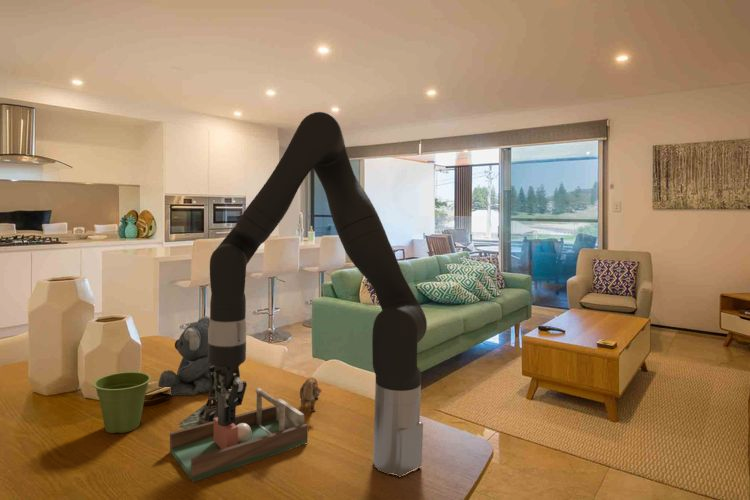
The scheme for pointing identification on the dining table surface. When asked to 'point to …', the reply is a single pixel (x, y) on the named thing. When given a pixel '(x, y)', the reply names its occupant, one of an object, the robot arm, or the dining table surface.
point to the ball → (244, 432)
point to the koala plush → (190, 361)
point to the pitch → (269, 437)
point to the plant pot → (122, 399)
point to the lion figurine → (309, 393)
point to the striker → (224, 427)
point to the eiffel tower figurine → (202, 414)
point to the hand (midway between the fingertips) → (225, 419)
